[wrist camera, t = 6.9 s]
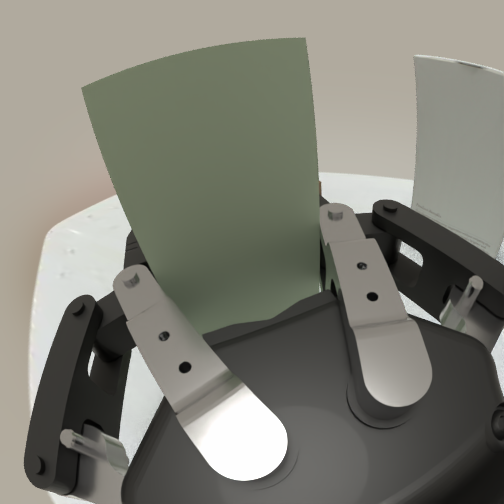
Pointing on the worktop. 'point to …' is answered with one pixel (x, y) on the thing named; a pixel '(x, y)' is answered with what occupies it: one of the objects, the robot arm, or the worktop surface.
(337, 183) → the worktop surface
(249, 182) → the sage block
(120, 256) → the worktop surface
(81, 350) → the robot arm
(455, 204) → the skincare box
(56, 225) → the worktop surface
